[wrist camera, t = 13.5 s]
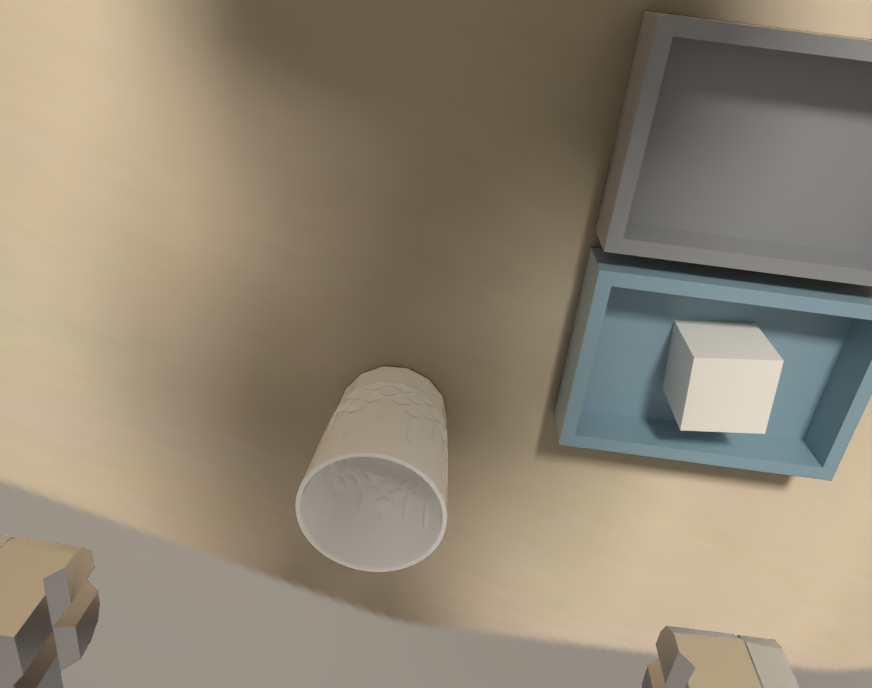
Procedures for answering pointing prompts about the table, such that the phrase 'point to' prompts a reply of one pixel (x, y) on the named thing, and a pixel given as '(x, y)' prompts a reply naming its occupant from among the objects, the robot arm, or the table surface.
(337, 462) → the white cup
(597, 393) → the bin
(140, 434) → the table surface
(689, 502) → the table surface
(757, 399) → the white cube
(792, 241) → the tray
